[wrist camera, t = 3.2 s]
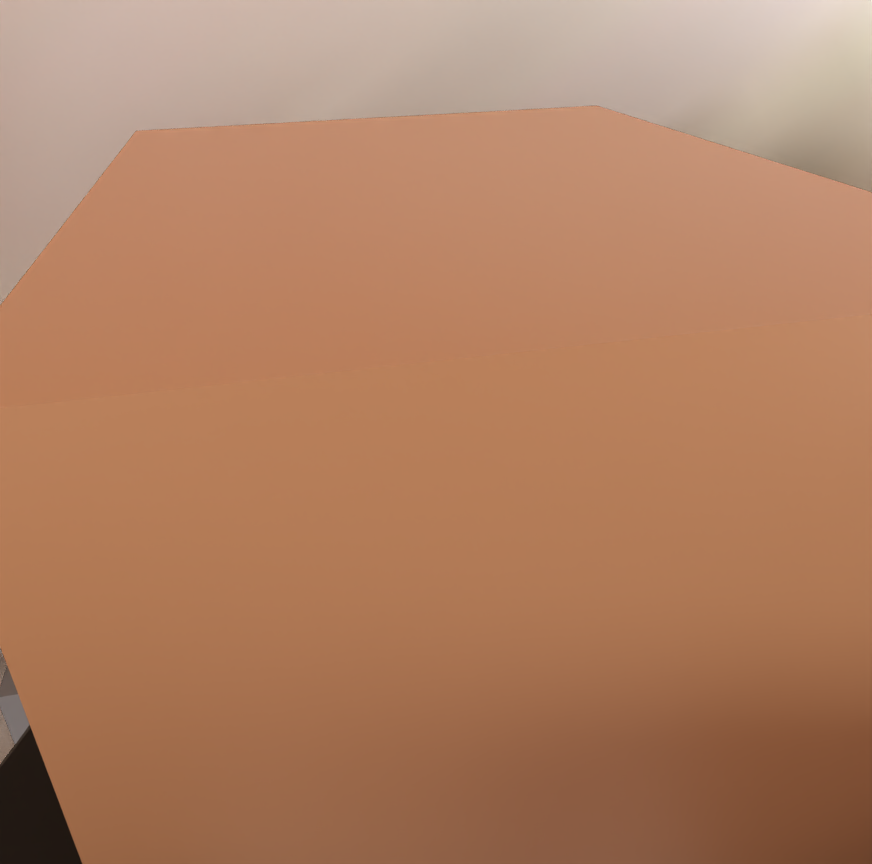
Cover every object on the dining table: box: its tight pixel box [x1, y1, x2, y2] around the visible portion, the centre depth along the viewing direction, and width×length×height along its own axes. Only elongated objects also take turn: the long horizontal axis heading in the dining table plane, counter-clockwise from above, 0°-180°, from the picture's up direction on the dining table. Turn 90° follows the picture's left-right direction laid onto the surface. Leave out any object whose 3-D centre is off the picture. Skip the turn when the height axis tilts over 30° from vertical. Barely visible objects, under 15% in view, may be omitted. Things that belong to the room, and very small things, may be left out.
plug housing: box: [0, 106, 872, 864], centre depth 8 cm, size 5×10×6 cm, turn 2°
